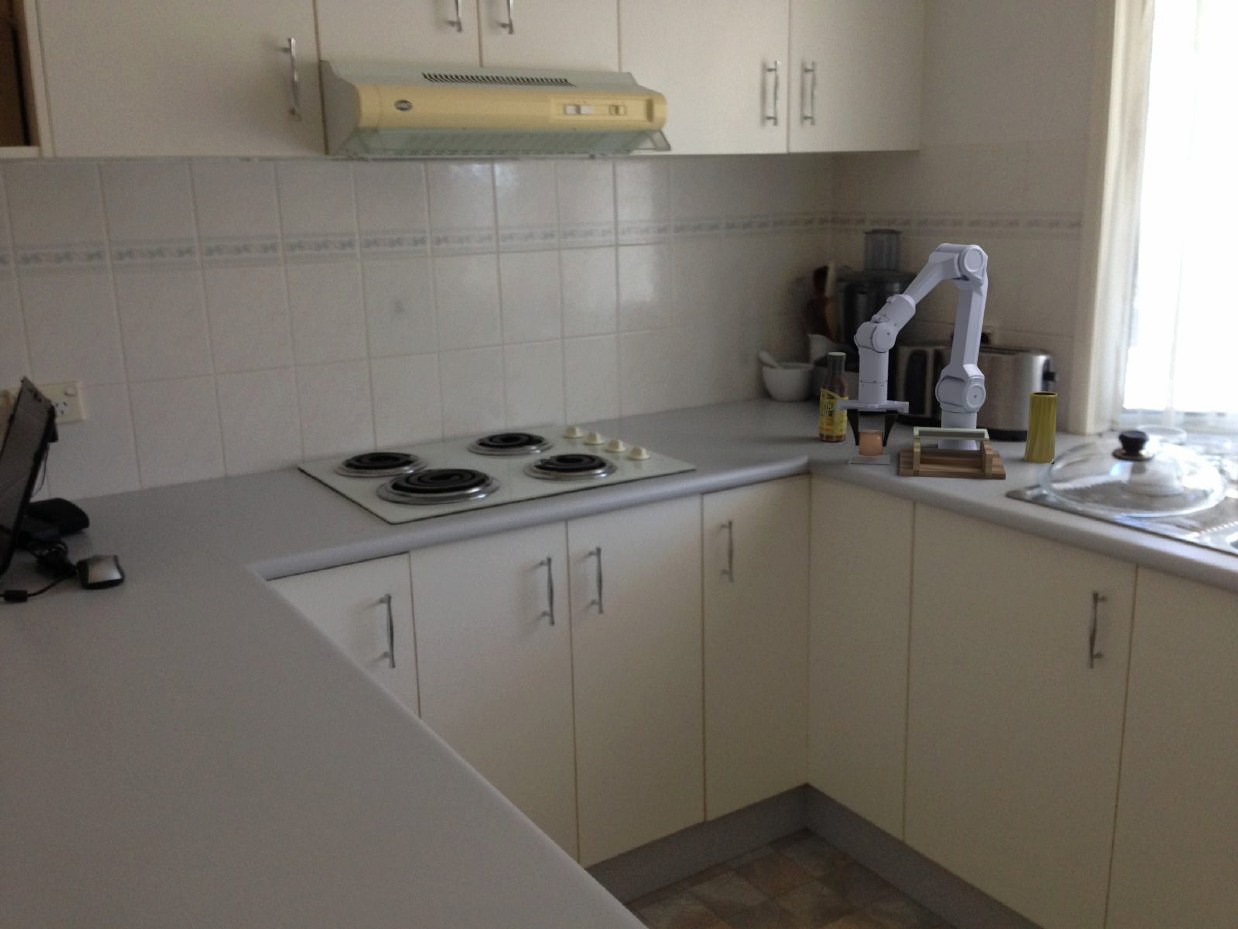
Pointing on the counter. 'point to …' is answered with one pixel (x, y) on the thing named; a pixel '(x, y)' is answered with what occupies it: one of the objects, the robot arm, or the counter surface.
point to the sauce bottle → (833, 400)
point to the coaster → (870, 459)
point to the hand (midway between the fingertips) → (870, 445)
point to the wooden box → (951, 462)
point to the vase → (1041, 427)
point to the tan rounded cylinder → (870, 442)
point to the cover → (951, 433)
